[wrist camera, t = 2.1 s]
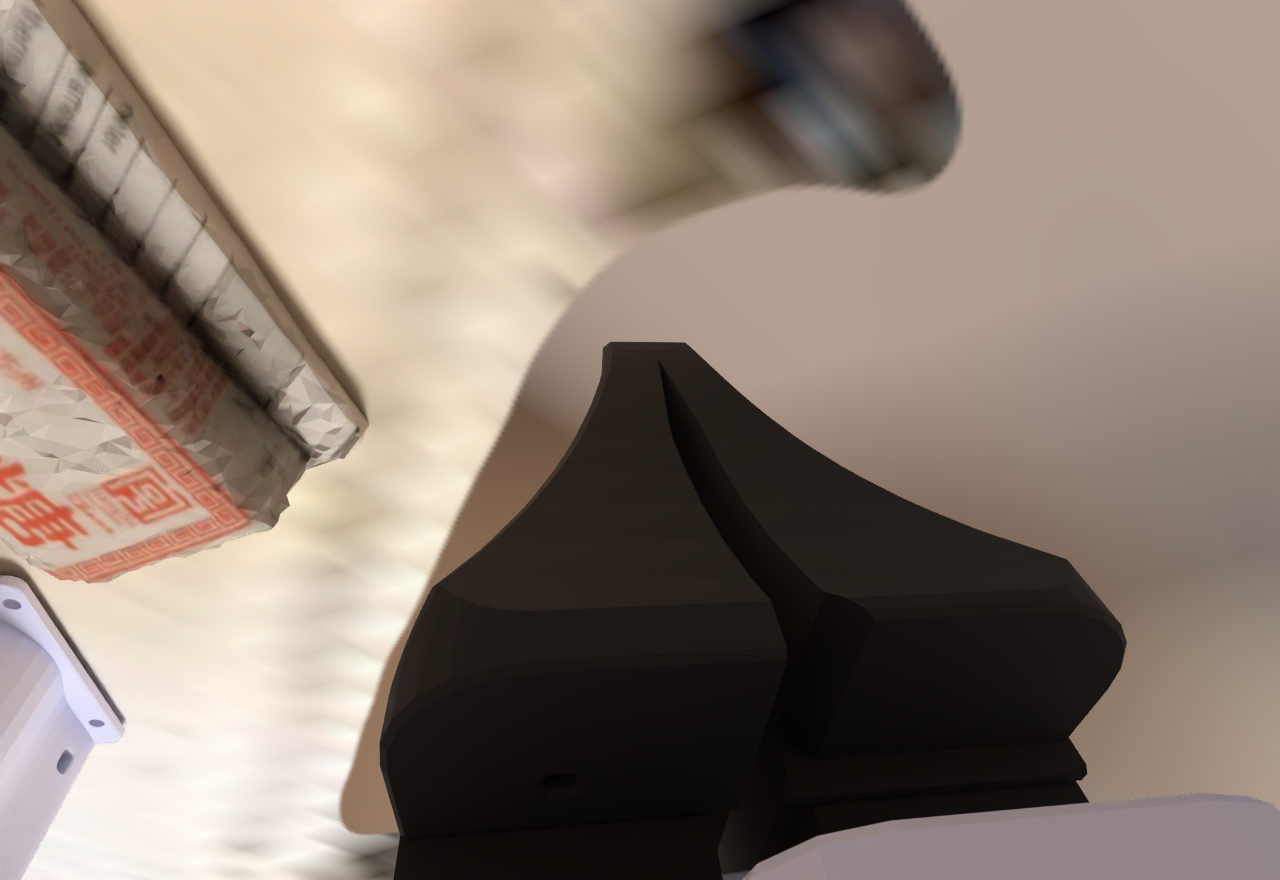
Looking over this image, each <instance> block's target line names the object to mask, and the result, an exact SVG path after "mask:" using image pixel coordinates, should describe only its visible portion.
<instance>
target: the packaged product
mask: <svg viewBox="0 0 1280 880" xmlns="http://www.w3.org/2000/svg"><path fill="white" fill-rule="evenodd" d="M368 426H369V424H368V422H367V420H366V419H365V417H364V416H363V414H362V413H361V412H360V410H359V409H358V408H357V406H356V405H355V404H354V402H353V401H352V399H351V398H350V397H349V395H348V394H347V393H346V391H345V390H344V389H343V387H342V386H341V384H340V383H339V382H338V380H337V379H336V378H335V376H334V375H333V374H332V372H331V371H330V370H329V368H328V367H327V365H326V364H325V363H324V361H323V360H322V359H321V357H320V356H319V355H318V354H317V353H316V351H315V350H314V349H313V347H312V346H311V344H310V343H309V341H308V340H307V338H306V337H305V335H304V334H303V332H302V331H301V329H300V328H299V326H298V324H297V323H296V321H295V320H294V318H293V317H292V315H291V314H290V312H289V311H288V309H287V308H286V306H285V305H284V303H283V302H282V300H281V299H280V297H279V296H278V294H277V293H276V291H275V290H274V288H273V286H272V285H271V283H270V282H269V280H268V279H267V277H266V276H265V274H264V273H263V271H262V270H261V268H260V267H259V265H258V264H257V262H256V261H255V259H254V258H253V256H252V255H251V253H250V252H249V250H248V249H247V247H246V246H245V244H244V243H243V241H242V240H241V238H240V237H239V236H238V235H237V234H236V232H235V231H234V230H233V228H232V227H231V225H230V224H229V222H228V221H227V220H226V218H225V217H224V215H223V214H222V212H221V211H220V209H219V208H218V207H217V205H216V204H215V202H214V201H213V199H212V198H211V197H210V195H209V194H208V192H207V191H206V189H205V188H204V187H203V185H202V184H201V182H200V181H199V179H198V178H197V177H196V175H195V174H194V172H193V171H192V169H191V168H190V167H189V165H188V164H187V162H186V161H185V159H184V158H183V157H182V155H181V154H180V152H179V151H178V149H177V148H176V147H175V145H174V144H173V142H172V141H171V139H170V138H169V136H168V135H167V133H166V132H165V130H164V129H163V127H162V126H161V125H160V123H159V122H158V120H157V119H156V117H155V116H154V114H153V113H152V111H151V110H150V108H149V107H148V105H147V104H146V103H145V101H144V100H143V98H142V97H141V96H140V94H139V93H138V91H137V90H136V89H135V87H134V86H133V84H132V83H131V82H130V80H129V79H128V77H127V76H126V75H125V73H124V72H123V70H122V69H121V68H120V66H119V65H118V63H117V62H116V61H115V59H114V58H113V56H112V55H111V54H110V52H109V51H108V49H107V48H106V47H105V45H104V44H103V42H102V41H101V40H100V38H99V37H98V35H97V34H96V33H95V31H94V30H93V28H92V27H91V26H90V24H89V23H88V21H87V20H86V19H85V17H84V16H83V14H82V13H81V12H80V10H79V9H78V8H77V6H76V5H75V4H74V3H73V1H72V0H0V539H1V540H2V541H3V542H4V543H6V544H7V545H8V546H9V547H10V548H11V549H12V550H13V551H14V552H15V553H16V554H17V556H19V557H21V558H24V559H26V560H27V562H28V563H29V564H30V565H32V566H35V567H37V568H39V569H42V570H44V571H45V572H47V573H49V574H51V575H52V576H54V577H56V578H57V579H59V580H72V581H79V580H84V581H86V582H87V583H107V582H110V581H112V580H114V579H115V578H117V577H119V576H121V575H123V574H124V573H127V572H129V571H134V570H138V569H140V568H143V567H145V566H148V565H153V564H155V563H157V562H159V561H162V560H164V559H167V558H171V557H187V556H189V555H192V554H195V553H197V552H200V551H203V550H206V549H212V548H218V547H220V546H221V545H222V544H223V543H224V542H227V541H230V540H233V539H237V538H240V537H243V536H246V535H249V534H253V533H259V532H263V531H268V530H271V529H272V528H273V527H274V526H275V525H276V523H277V522H278V520H279V516H280V513H281V512H282V511H284V510H285V509H286V508H287V507H289V506H290V504H289V502H288V499H287V496H286V495H287V494H288V493H289V491H290V490H291V489H292V488H293V487H294V485H295V484H296V483H297V482H298V481H299V479H300V478H301V476H302V475H303V473H304V471H305V470H306V469H309V468H312V467H315V466H318V465H321V464H324V463H327V462H330V461H333V460H336V459H339V458H342V459H344V458H345V457H346V456H348V455H349V454H350V453H351V452H352V451H353V450H354V449H355V448H356V447H358V446H359V445H360V444H361V442H362V440H363V438H364V435H365V433H366V431H367V429H368Z"/></svg>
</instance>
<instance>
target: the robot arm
mask: <svg viewBox="0 0 1280 880" xmlns="http://www.w3.org/2000/svg"><path fill="white" fill-rule="evenodd" d="M1126 643H1127V642H1126V638H1125V635H1124V632H1123V629H1122V626H1121V624H1120V623H1119V622H1118V620H1117V619H1116V618H1115V617H1114V615H1113V614H1112V613H1111V612H1110V611H1109V609H1108V608H1107V607H1106V606H1105V605H1104V603H1102V601H1101V600H1100V599H1099V597H1098V596H1097V595H1096V594H1095V593H1094V592H1093V590H1092V589H1091V588H1090V587H1089V585H1087V583H1086V582H1085V581H1084V580H1083V578H1082V577H1081V576H1080V574H1079V573H1078V572H1077V571H1076V570H1075V568H1074V567H1073V566H1072V565H1071V564H1070V562H1069V561H1068V560H1066V559H1064V558H1061V557H1058V556H1055V555H1052V554H1049V553H1046V552H1043V551H1040V550H1037V549H1034V548H1031V547H1028V546H1025V545H1022V544H1019V543H1015V542H1013V541H1010V540H1007V539H1004V538H1001V537H998V536H994V535H992V534H988V533H986V532H983V531H980V530H977V529H975V528H972V527H970V526H967V525H965V524H962V523H960V522H957V521H955V520H952V519H950V518H947V517H945V516H942V515H940V514H938V513H935V512H933V511H930V510H928V509H926V508H923V507H921V506H919V505H917V504H914V503H912V502H910V501H908V500H906V499H903V498H901V497H899V496H897V495H895V494H893V493H891V492H889V491H887V490H885V489H883V488H881V487H879V486H877V485H875V484H874V483H871V482H869V481H868V480H866V479H863V478H862V477H860V476H858V475H856V474H855V473H853V472H851V471H849V470H847V469H846V468H844V467H842V466H840V465H839V464H837V463H836V462H834V461H832V460H831V459H829V458H827V457H826V456H824V455H823V454H821V453H820V452H818V451H816V450H815V449H813V448H811V447H810V446H808V445H807V444H805V443H804V442H802V441H801V440H799V439H798V438H797V437H795V436H794V435H792V434H791V433H790V432H788V431H787V430H786V429H784V428H783V427H782V426H780V425H779V424H778V423H776V422H775V421H774V420H772V419H771V418H770V417H769V416H767V415H766V414H765V413H763V412H762V411H761V410H760V409H758V408H757V407H756V406H755V405H754V404H752V403H751V402H750V401H749V400H748V399H746V398H745V397H744V396H743V395H742V394H741V393H740V392H739V391H737V390H736V389H735V388H734V387H733V386H732V385H731V384H730V383H728V382H727V381H726V380H725V379H724V378H723V377H722V376H721V375H720V374H719V373H718V372H716V371H715V370H714V369H713V368H712V367H711V366H710V365H709V364H708V363H707V362H706V361H705V360H704V359H703V358H702V357H700V356H699V355H698V354H697V353H696V352H695V351H694V350H693V349H692V348H691V347H690V346H688V345H687V344H686V343H676V342H610V343H609V344H607V345H606V346H605V347H604V348H603V359H602V375H601V379H600V383H599V385H598V388H597V390H596V393H595V396H594V399H593V401H592V404H591V406H590V409H589V411H588V413H587V415H586V417H585V419H584V421H583V423H582V425H581V427H580V429H579V431H578V433H577V435H576V437H575V439H574V440H573V442H572V444H571V445H570V447H569V449H568V450H567V452H566V454H565V455H564V457H563V458H562V459H561V461H560V463H559V464H558V465H557V467H556V468H555V470H554V471H553V473H552V474H551V475H550V477H549V478H548V479H547V480H546V482H545V483H544V484H543V485H542V487H541V488H540V489H539V491H538V492H537V493H536V494H535V495H534V497H533V498H532V499H531V500H530V501H529V502H528V504H527V505H526V506H525V507H524V508H523V509H522V510H521V511H520V512H519V513H518V514H517V515H516V516H515V517H514V518H513V519H512V520H511V521H510V522H509V523H508V524H507V525H506V526H505V527H504V528H503V529H502V530H501V531H500V532H499V533H498V534H497V535H496V536H495V537H494V538H493V539H492V540H491V541H490V542H489V543H487V544H486V545H485V546H484V547H483V548H482V549H481V550H480V551H478V552H477V553H476V554H474V556H472V557H471V558H470V559H468V560H467V561H466V562H465V563H463V564H462V565H461V566H459V567H458V568H457V569H456V570H454V571H453V572H452V573H450V574H449V575H448V576H447V577H445V578H444V579H443V580H441V581H440V582H439V583H437V584H436V585H435V586H433V587H432V589H431V591H430V593H429V595H428V597H427V599H426V601H425V603H424V605H423V607H422V610H421V611H420V614H419V616H418V618H417V620H416V622H415V624H414V626H413V629H412V631H411V634H410V636H409V638H408V640H407V643H406V645H405V648H404V650H403V653H402V656H401V659H400V662H399V664H398V667H397V670H396V673H395V676H394V679H393V682H392V686H391V690H390V694H389V698H388V703H387V708H386V713H385V718H384V724H383V729H382V734H381V739H380V767H381V771H382V774H383V777H384V781H385V784H386V787H387V791H388V795H389V798H390V801H391V805H392V808H393V811H394V815H395V819H396V822H397V825H398V829H399V832H400V841H399V848H398V854H397V860H396V867H395V873H394V880H1280V811H1279V810H1278V809H1277V808H1276V807H1275V805H1274V804H1271V803H1268V802H1265V801H1261V800H1258V799H1255V798H1251V797H1248V796H1239V795H1224V794H1210V793H1190V794H1179V795H1168V796H1157V797H1146V798H1135V799H1124V800H1113V801H1103V802H1092V803H1089V801H1088V800H1087V798H1086V797H1085V795H1084V793H1083V792H1082V790H1081V788H1080V787H1079V785H1078V784H1077V782H1076V781H1077V780H1082V779H1083V778H1084V777H1085V776H1086V775H1087V768H1086V763H1085V762H1084V760H1083V759H1082V757H1081V756H1080V754H1079V753H1078V751H1077V750H1076V748H1075V747H1074V745H1073V743H1072V742H1071V740H1070V739H1069V736H1070V735H1071V733H1072V732H1073V731H1074V730H1075V729H1076V727H1077V726H1078V725H1079V724H1080V722H1081V721H1082V720H1083V719H1084V717H1085V716H1086V715H1087V714H1088V712H1089V711H1090V710H1091V709H1092V708H1093V706H1094V705H1095V704H1096V703H1097V702H1098V700H1099V699H1100V698H1101V697H1102V696H1103V694H1104V693H1105V692H1106V691H1107V689H1108V688H1109V687H1110V685H1111V683H1112V682H1113V680H1114V679H1115V677H1116V675H1117V673H1118V672H1119V671H1120V669H1121V665H1122V662H1123V657H1124V653H1125V648H1126ZM124 732H125V728H124V727H123V725H122V724H121V722H120V721H119V719H118V718H117V716H116V715H115V713H114V712H113V711H112V709H111V708H110V706H109V705H108V703H107V702H106V700H105V699H104V697H103V696H102V694H101V693H100V691H99V690H98V688H97V687H96V685H95V684H94V682H93V681H92V679H91V678H90V676H89V675H88V673H87V672H86V670H85V669H84V667H83V666H82V665H81V663H80V662H79V660H78V659H77V657H76V656H75V654H74V653H73V651H72V650H71V648H70V647H69V645H68V644H67V642H66V641H65V639H64V638H63V636H62V635H61V633H60V632H59V630H58V629H57V627H56V626H55V624H54V623H53V621H52V620H51V619H50V617H49V616H48V614H47V613H46V611H45V610H44V608H43V607H42V605H41V604H40V602H39V601H38V599H37V598H36V596H35V595H34V593H33V592H32V590H31V589H30V587H29V586H28V584H27V583H26V582H25V581H23V580H22V579H20V578H17V577H14V576H7V575H3V576H0V880H21V879H22V877H23V875H24V873H25V871H26V870H27V868H28V866H29V864H30V862H31V860H32V859H33V857H34V855H35V853H36V851H37V849H38V848H39V846H40V844H41V842H42V840H43V838H44V837H45V835H46V833H47V831H48V829H49V828H50V826H51V824H52V822H53V820H54V818H55V817H56V815H57V813H58V811H59V809H60V807H61V806H62V804H63V802H64V800H65V798H66V796H67V795H68V793H69V791H70V789H71V787H72V785H73V784H74V782H75V780H76V778H77V776H78V774H79V773H80V771H81V769H82V767H83V765H84V763H85V762H86V760H87V758H88V756H89V754H90V752H91V751H92V749H93V747H94V745H95V744H109V743H115V742H118V741H120V740H121V738H122V736H123V734H124Z"/></svg>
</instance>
